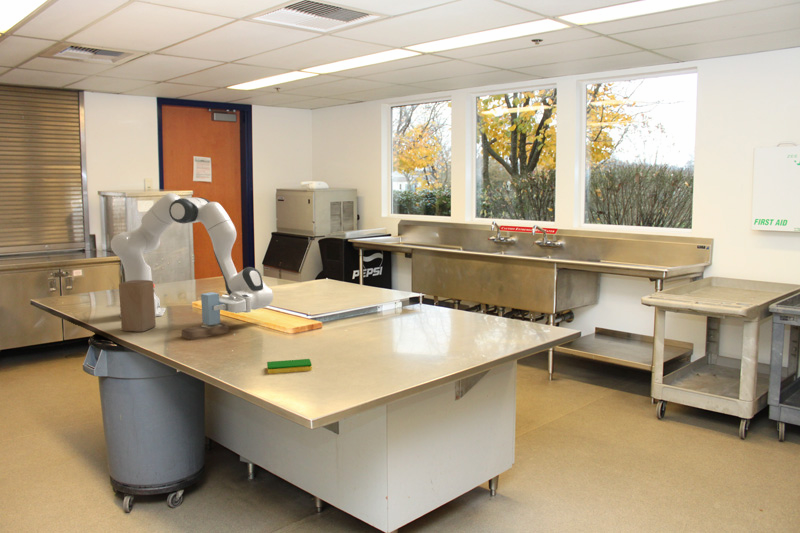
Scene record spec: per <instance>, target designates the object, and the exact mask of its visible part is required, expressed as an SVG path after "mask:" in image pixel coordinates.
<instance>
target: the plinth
mask: <svg viewBox="0 0 800 533" xmlns="http://www.w3.org/2000/svg"><path fill="white" fill-rule="evenodd" d="M180 330H181V337H182V338H185V339H188V340H191V341H194V340H199V339H204V338H209V337H213V336H216V335H222V334H227V333H229V325H228V324H227V323H226V324H225V323H221V322H220V323H218V324H213V325H207V324H201V325H197V326H191V327H186V328H182V329H180Z"/></svg>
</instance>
